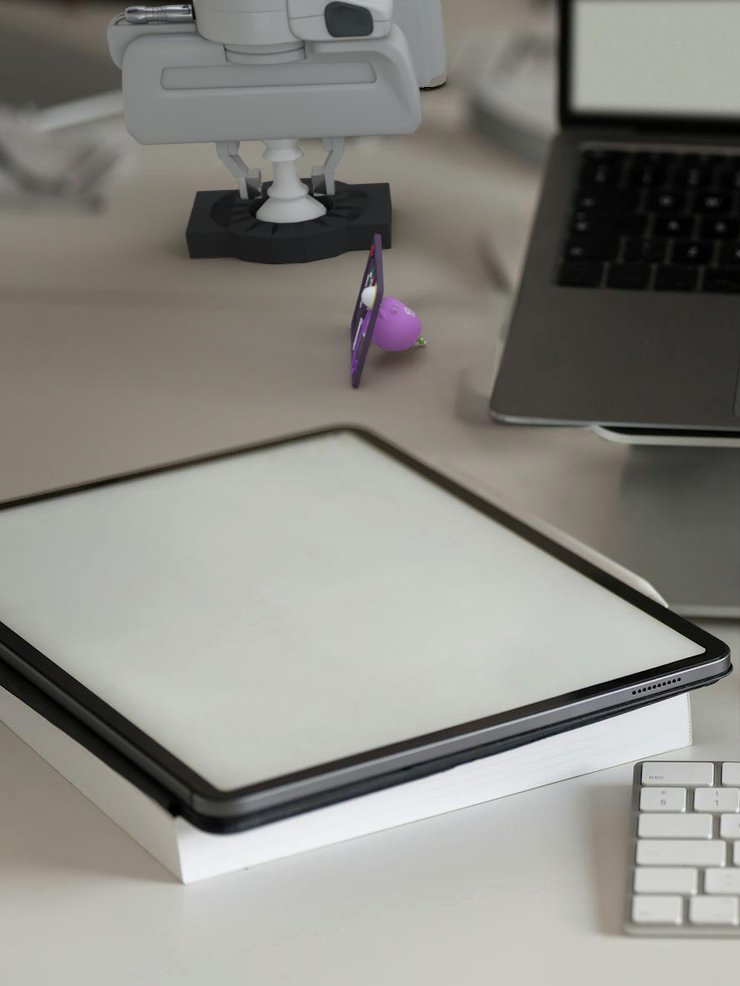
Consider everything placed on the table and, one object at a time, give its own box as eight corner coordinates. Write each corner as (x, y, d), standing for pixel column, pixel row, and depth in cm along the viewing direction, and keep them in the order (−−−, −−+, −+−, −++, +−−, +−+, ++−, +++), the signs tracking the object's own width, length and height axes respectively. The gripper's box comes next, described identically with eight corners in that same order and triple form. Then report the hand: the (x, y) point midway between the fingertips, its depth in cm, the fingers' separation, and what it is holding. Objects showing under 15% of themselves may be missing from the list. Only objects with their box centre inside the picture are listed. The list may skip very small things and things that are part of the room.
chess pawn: (343, 231, 125) (327, 113, 121) (286, 251, 122) (268, 130, 117) (301, 213, 128) (285, 97, 123) (244, 232, 125) (225, 113, 120)
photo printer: (332, 78, 155) (315, -62, 148) (359, 65, 158) (343, -72, 152) (430, 94, 152) (417, -48, 145) (455, 80, 155) (443, -59, 149)
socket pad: (187, 268, 119) (182, 242, 118) (203, 207, 129) (198, 182, 128) (391, 257, 122) (388, 231, 121) (392, 198, 131) (389, 173, 130)
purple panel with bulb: (363, 229, 109) (365, 287, 102) (443, 249, 111) (451, 307, 104) (339, 321, 112) (339, 384, 105) (417, 339, 114) (423, 402, 107)
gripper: (94, 20, 112) (133, 218, 119) (411, 11, 115) (430, 204, 123) (107, -6, 117) (144, 185, 124) (411, -14, 120) (429, 173, 128)
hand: (288, 194), depth 124 cm, fingers open, 4 cm apart
